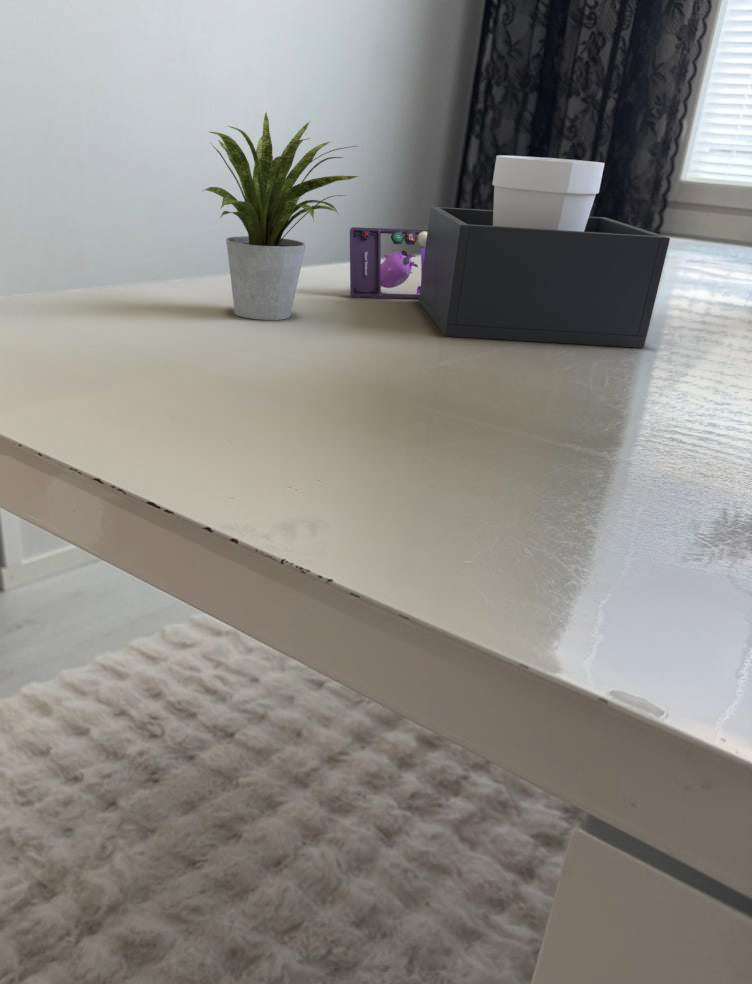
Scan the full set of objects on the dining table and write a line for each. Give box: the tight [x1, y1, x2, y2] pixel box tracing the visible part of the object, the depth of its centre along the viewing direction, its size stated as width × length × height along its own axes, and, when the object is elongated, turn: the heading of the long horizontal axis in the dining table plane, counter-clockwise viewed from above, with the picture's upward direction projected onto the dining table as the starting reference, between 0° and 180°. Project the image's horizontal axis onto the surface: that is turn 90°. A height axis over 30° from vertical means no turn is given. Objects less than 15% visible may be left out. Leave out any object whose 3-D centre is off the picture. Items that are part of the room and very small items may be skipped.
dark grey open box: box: [418, 206, 671, 349], centre depth 89 cm, size 18×18×9 cm
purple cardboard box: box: [349, 226, 428, 299], centre depth 101 cm, size 7×5×9 cm
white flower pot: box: [491, 154, 606, 232], centre depth 88 cm, size 10×9×13 cm
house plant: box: [201, 111, 359, 321], centre depth 82 cm, size 14×14×16 cm
